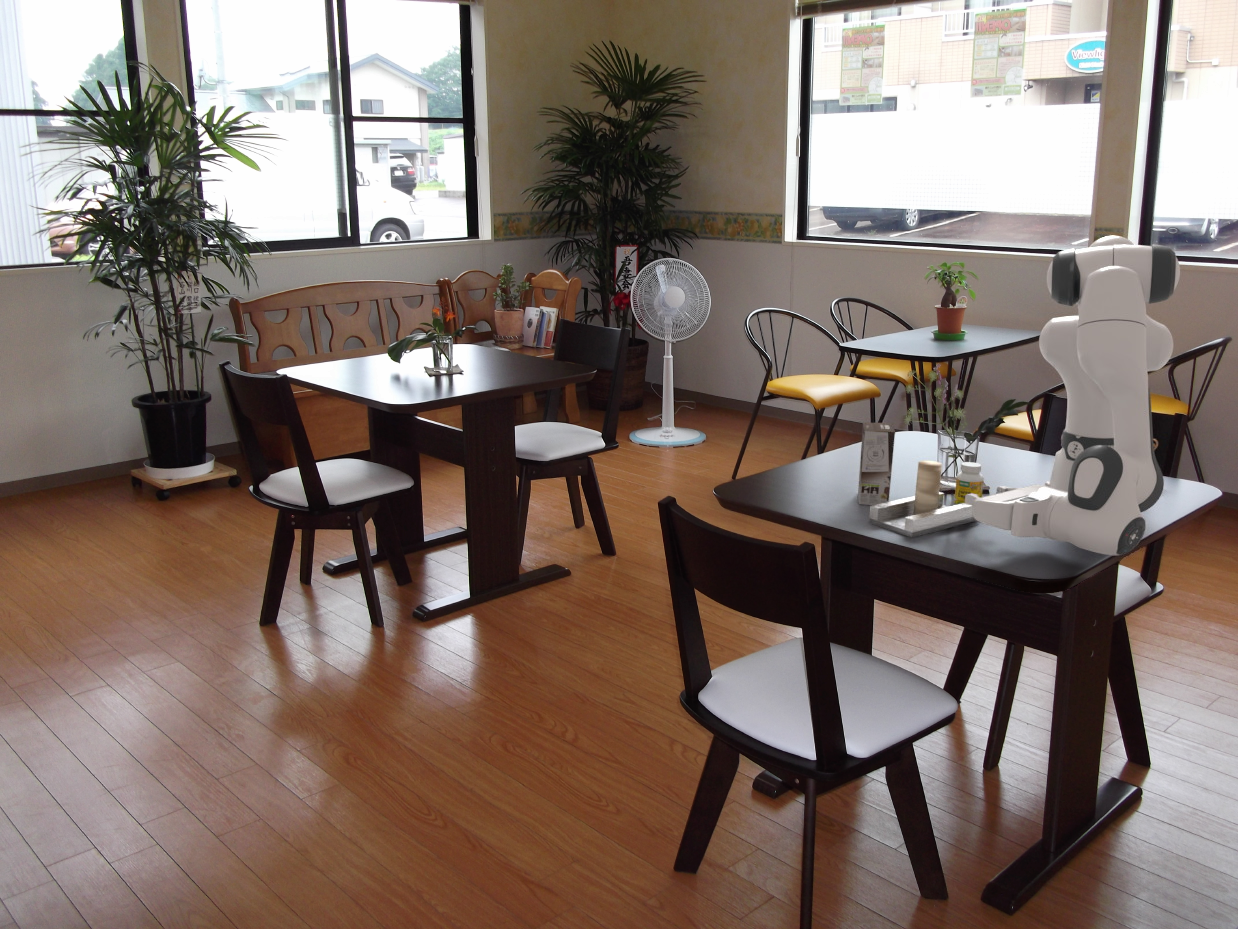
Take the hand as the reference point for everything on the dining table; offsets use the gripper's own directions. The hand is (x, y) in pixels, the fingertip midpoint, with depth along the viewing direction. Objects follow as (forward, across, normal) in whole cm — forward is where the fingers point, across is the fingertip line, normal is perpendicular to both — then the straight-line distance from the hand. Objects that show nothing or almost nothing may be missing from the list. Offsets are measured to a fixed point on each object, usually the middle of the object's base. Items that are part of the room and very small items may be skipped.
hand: (983, 494), depth 200 cm
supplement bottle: (+14, -15, +9) cm, 23 cm away
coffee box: (+29, -3, +9) cm, 31 cm away
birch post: (+13, 0, +8) cm, 15 cm away
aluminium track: (+13, 0, +9) cm, 16 cm away
